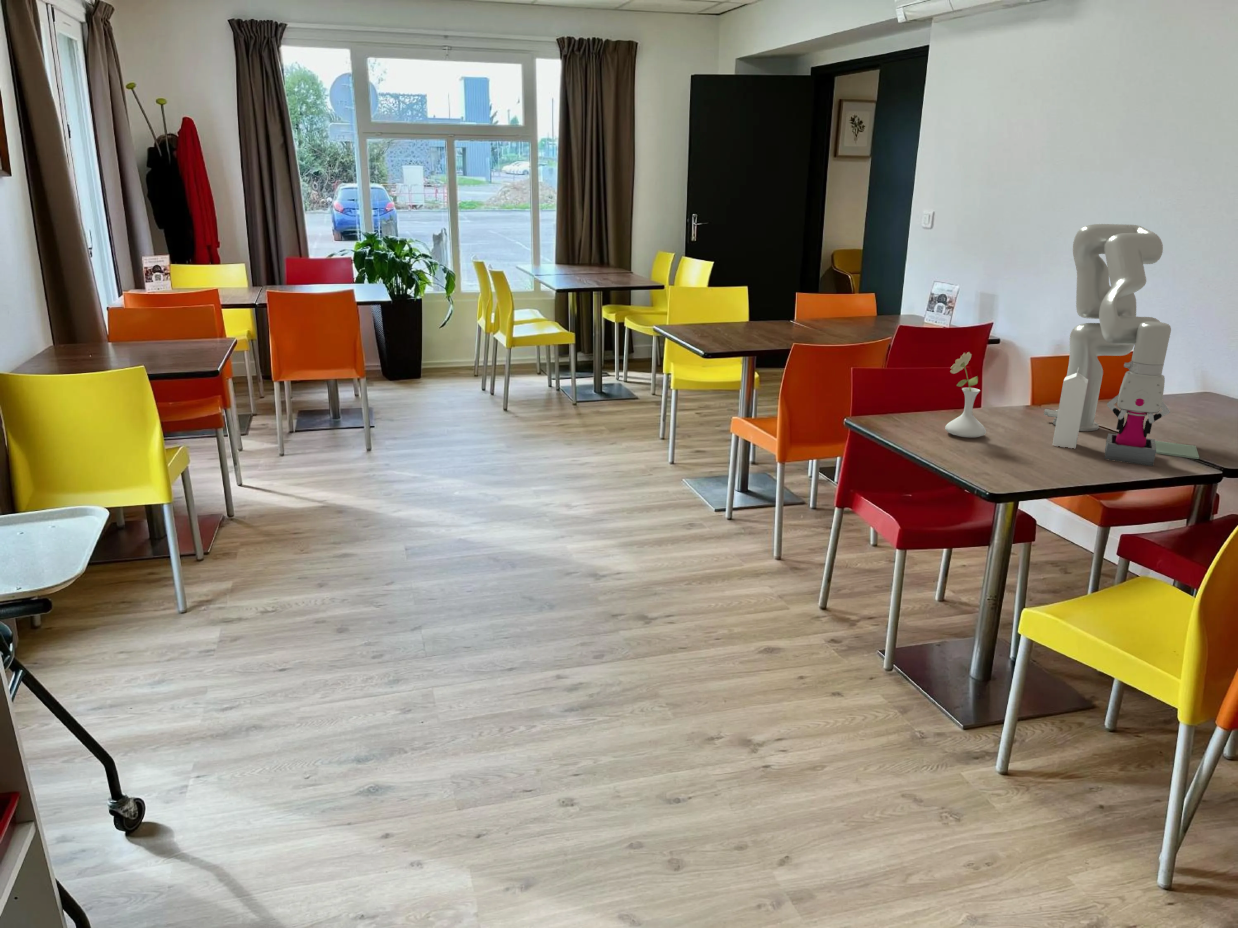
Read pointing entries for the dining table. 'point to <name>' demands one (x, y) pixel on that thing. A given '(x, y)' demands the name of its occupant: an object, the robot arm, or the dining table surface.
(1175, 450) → the mat
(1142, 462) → the grey open storage bin
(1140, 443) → the pepper mill
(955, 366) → the flower in vase
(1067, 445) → the milk
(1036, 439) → the dining table surface
